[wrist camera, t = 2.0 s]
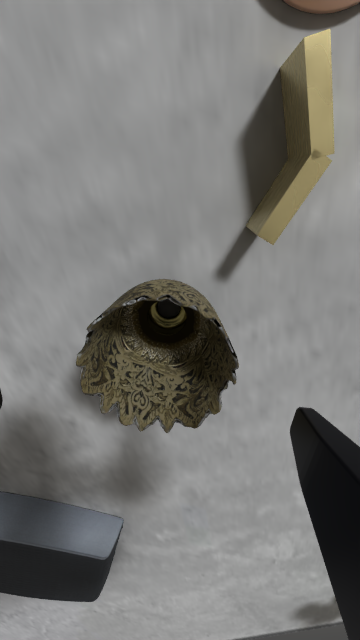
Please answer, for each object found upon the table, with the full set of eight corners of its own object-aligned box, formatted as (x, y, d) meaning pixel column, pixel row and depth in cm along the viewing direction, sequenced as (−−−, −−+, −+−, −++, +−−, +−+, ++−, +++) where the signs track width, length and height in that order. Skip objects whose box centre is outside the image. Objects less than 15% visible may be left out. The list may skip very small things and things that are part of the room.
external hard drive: (-58, 474, 30) (-93, 515, 26) (126, 510, 32) (118, 554, 28) (-48, 543, 36) (-76, 585, 32) (108, 571, 37) (99, 614, 33)
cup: (191, 366, 23) (191, 453, 15) (102, 328, 21) (57, 403, 14) (241, 284, 20) (270, 345, 12) (140, 235, 18) (108, 270, 11)
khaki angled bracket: (284, 237, 18) (304, 249, 15) (244, 232, 18) (255, 242, 15) (332, 66, 15) (371, 34, 11) (281, 58, 15) (307, 25, 11)
